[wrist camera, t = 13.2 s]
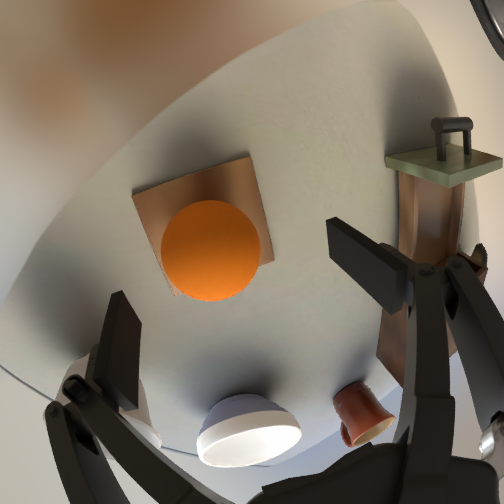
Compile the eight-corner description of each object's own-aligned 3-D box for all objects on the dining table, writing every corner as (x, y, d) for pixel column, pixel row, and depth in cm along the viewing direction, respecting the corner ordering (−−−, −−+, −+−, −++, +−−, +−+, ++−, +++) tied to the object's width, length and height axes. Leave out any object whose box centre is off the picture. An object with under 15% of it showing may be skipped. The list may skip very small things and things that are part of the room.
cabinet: (385, 274, 32) (432, 313, 24) (445, 241, 34) (488, 268, 26) (375, 356, 40) (405, 391, 33) (429, 321, 42) (458, 349, 35)
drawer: (379, 115, 22) (447, 123, 15) (448, 112, 24) (502, 122, 17) (385, 287, 33) (427, 324, 25) (445, 253, 35) (484, 279, 27)
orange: (239, 178, 21) (258, 205, 15) (258, 255, 25) (280, 303, 18) (153, 205, 21) (135, 243, 14) (182, 277, 24) (181, 332, 18)
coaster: (249, 155, 21) (250, 156, 21) (273, 258, 26) (275, 260, 26) (131, 194, 20) (131, 196, 20) (174, 294, 25) (174, 296, 24)
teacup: (40, 371, 24) (25, 433, 15) (88, 307, 23) (66, 387, 14) (113, 411, 30) (114, 471, 21) (176, 364, 29) (187, 439, 20)
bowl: (271, 423, 41) (286, 457, 34) (189, 433, 36) (197, 472, 30) (295, 373, 35) (317, 414, 29) (190, 383, 31) (200, 434, 24)
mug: (340, 380, 40) (370, 425, 31) (374, 373, 43) (403, 411, 35) (313, 418, 45) (334, 458, 36) (346, 410, 48) (368, 445, 39)
